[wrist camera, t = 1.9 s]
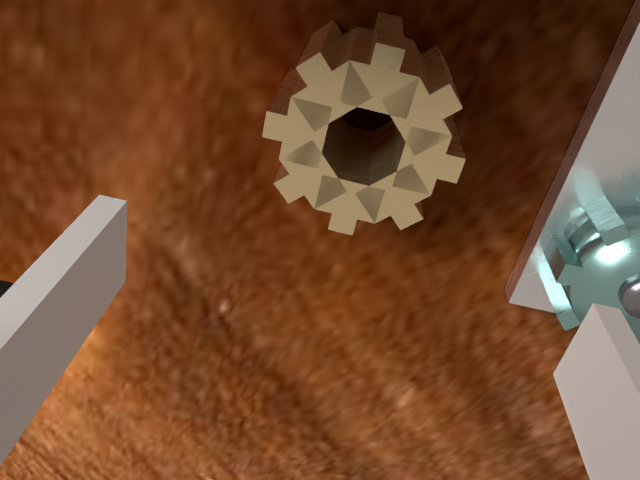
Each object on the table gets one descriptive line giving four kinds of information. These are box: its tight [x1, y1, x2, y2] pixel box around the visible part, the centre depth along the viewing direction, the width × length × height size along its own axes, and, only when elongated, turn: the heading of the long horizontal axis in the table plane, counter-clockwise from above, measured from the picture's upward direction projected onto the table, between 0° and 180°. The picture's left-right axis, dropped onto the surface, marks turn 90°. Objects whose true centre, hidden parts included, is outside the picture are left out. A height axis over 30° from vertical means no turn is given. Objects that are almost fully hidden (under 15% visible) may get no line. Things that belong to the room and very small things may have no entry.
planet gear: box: [262, 12, 466, 235], centre depth 28 cm, size 9×9×7 cm
